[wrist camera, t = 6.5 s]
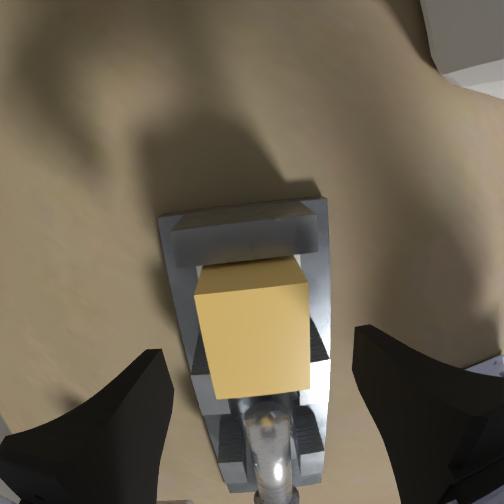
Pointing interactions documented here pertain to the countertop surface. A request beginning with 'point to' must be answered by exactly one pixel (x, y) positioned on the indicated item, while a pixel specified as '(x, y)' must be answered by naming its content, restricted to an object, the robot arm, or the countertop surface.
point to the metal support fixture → (318, 276)
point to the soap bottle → (467, 42)
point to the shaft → (271, 452)
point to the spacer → (255, 326)
